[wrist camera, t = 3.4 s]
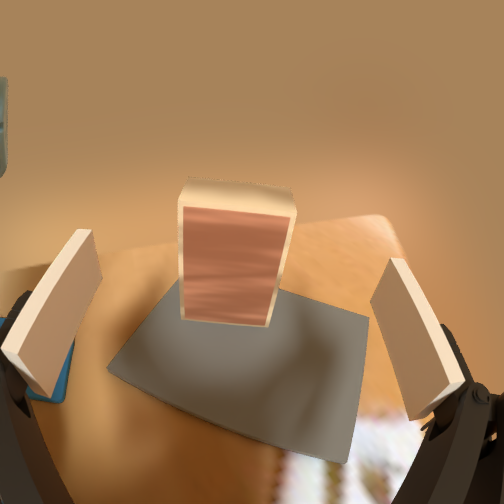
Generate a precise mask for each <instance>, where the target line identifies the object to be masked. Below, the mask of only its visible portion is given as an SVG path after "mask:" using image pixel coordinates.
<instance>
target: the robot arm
mask: <svg viewBox="0 0 504 504" xmlns="http://www.w3.org/2000/svg"><path fill="white" fill-rule="evenodd" d="M7 114H8V80H7V78H6V77H0V178H1V177H2V176H3V174H4V173H5V171H6V168H7V158H8V156H7V155H8V154H7V153H8V152H7V151H8V148H7V118H8V115H7ZM101 280H102V274H101V270H100V266H99V261H98V257H97V252H96V248H95V242H94V237H93V233H92V230H88V229H77V230H76V231H75V233H74V234H73V235H72V237H71V238H70V239H69V240H68V242H67V243H66V245H65V246H64V247H63V249H62V250H61V251H60V253H59V254H58V255H57V257H56V258H55V260H54V261H53V263H52V264H51V265H50V267H49V268H48V270H47V271H46V273H45V274H44V276H43V277H42V279H41V280H40V282H39V283H38V285H37V286H36V288H35V289H34V291H28V290H27V291H26V292H25V293H24V294H23V295H21V296H20V297H19V298H18V299H17V301H16V303H15V304H14V306H13V307H12V311H10V312H9V314H8V316H7V319H5V321H4V322H3V324H2V326H1V328H0V495H1V498H2V500H3V503H4V504H74V502H73V500H72V499H71V497H70V495H69V493H68V491H67V489H66V487H65V485H64V484H63V482H62V480H61V478H60V476H59V473H58V471H57V469H56V467H55V465H54V463H53V461H52V458H51V456H50V454H49V451H48V449H47V447H46V444H45V442H44V439H43V437H42V434H41V432H40V429H39V426H38V424H37V421H36V418H35V415H34V412H33V409H32V406H31V403H30V400H29V397H28V395H27V393H26V389H27V386H29V387H30V388H31V389H32V390H33V392H34V393H36V394H39V395H42V396H45V397H48V398H51V396H52V393H53V391H54V388H55V385H56V382H57V380H58V377H59V374H60V372H61V369H62V367H63V364H64V362H65V359H66V357H67V354H68V352H69V349H70V347H71V345H72V342H73V340H74V338H75V335H76V333H77V331H78V329H79V326H80V324H81V322H82V320H83V318H84V315H85V313H86V311H87V309H88V307H89V305H90V303H91V301H92V299H93V296H94V294H95V292H96V290H97V288H98V286H99V284H100V282H101ZM370 303H371V306H372V308H373V311H374V314H375V316H376V319H377V322H378V325H379V327H380V330H381V333H382V336H383V339H384V341H385V344H386V347H387V350H388V353H389V356H390V359H391V362H392V365H393V368H394V371H395V374H396V378H397V381H398V384H399V387H400V391H401V394H402V397H403V401H404V404H405V408H406V411H407V415H408V418H409V421H413V420H418V419H423V418H425V417H426V416H428V415H429V414H430V413H431V412H432V411H433V412H434V416H435V417H434V418H432V419H431V420H430V421H429V422H428V423H426V424H425V425H424V426H423V427H422V428H421V431H423V430H424V429H426V428H427V427H428V426H429V427H428V429H427V431H426V432H425V433H426V434H425V437H424V439H423V441H422V444H421V446H420V448H419V450H418V453H417V455H416V457H415V459H414V461H413V463H412V466H411V468H410V470H409V472H408V474H407V476H406V478H405V480H404V481H403V483H402V485H401V487H400V489H399V491H398V493H397V494H396V496H395V498H394V500H393V501H392V503H391V504H504V393H502V394H501V395H496V394H490V393H489V391H488V389H487V388H486V387H485V386H484V385H483V384H481V383H478V382H477V383H475V382H474V380H473V378H472V376H471V373H470V371H469V369H468V367H467V364H466V362H465V360H464V358H463V356H462V353H460V349H459V347H458V345H456V341H455V339H454V337H453V335H452V333H451V332H450V331H449V330H448V328H447V327H446V326H445V325H444V324H439V322H438V320H437V318H436V316H435V314H434V312H433V310H432V308H431V306H430V305H429V303H428V301H427V299H426V297H425V295H424V293H423V292H422V290H421V288H420V286H419V284H418V283H417V281H416V279H415V277H414V276H413V274H412V272H411V270H410V269H409V267H408V265H407V264H406V262H405V260H404V259H398V258H390V259H389V262H388V264H387V266H386V268H385V271H384V273H383V275H382V277H381V279H380V281H379V284H378V286H377V288H376V290H375V292H374V294H373V296H372V298H371V300H370ZM496 432H497V438H496V439H495V440H493V441H492V437H491V436H492V435H493V434H494V433H496ZM1 498H0V504H2V502H1Z"/></svg>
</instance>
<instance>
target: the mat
mask: <svg viewBox="0 0 504 504" xmlns="http://www.w3.org/2000/svg"><path fill="white" fill-rule="evenodd" d="M368 327H369V317H366V316H363V315H360V314H357V313H353V312H350V311H347V310H344V309H341V308H337V307H334V306H331V305H328V304H325V303H322V302H318V301H315V300H312V299H309V298H306V297H303V296H300V295H297V294H294V293H291V292H288V291H285V290H281V289H278V293H277V297H276V300H275V304H274V308H273V312H272V316H271V320H270V323H269V327H268V328H267V327H253V326H241V325H229V324H218V323H208V322H199V321H190V320H181V313H180V292H179V279H178V280H177V281H176V282H175V283H174V285H173V286H172V287H171V288H170V289H169V291H168V292H167V293H166V294H165V295H164V297H163V298H162V299H161V300H160V301H159V303H158V304H157V305H156V306H155V307H154V309H153V310H152V311H151V312H150V314H149V315H148V316H147V317H146V318H145V320H144V321H143V322H142V323H141V325H140V326H139V327H138V328H137V330H136V331H135V332H134V333H133V335H132V336H131V337H130V338H129V340H128V341H127V342H126V343H125V345H124V346H123V347H122V348H121V350H120V351H119V352H118V353H117V355H116V356H115V357H114V359H113V360H112V361H111V362H110V364H109V365H108V366H107V367H106V368H107V370H108V371H109V372H110V373H112V374H114V375H115V376H117V377H119V378H120V379H122V380H124V381H126V382H127V383H129V384H131V385H133V386H135V387H137V388H138V389H140V390H142V391H144V392H146V393H148V394H150V395H152V396H154V397H155V398H157V399H159V400H161V401H163V402H165V403H168V404H170V405H172V406H174V407H176V408H178V409H180V410H182V411H184V412H187V413H189V414H191V415H193V416H196V417H198V418H200V419H203V420H205V421H207V422H210V423H212V424H214V425H217V426H219V427H222V428H225V429H227V430H230V431H232V432H235V433H238V434H240V435H243V436H246V437H249V438H252V439H254V440H257V441H260V442H263V443H266V444H269V445H273V446H276V447H279V448H282V449H286V450H289V451H293V452H296V453H300V454H303V455H307V456H311V457H315V458H319V459H323V460H327V461H332V462H336V463H341V464H345V463H346V462H347V460H348V456H349V451H350V447H351V442H352V437H353V432H354V427H355V422H356V416H357V411H358V405H359V399H360V393H361V386H362V379H363V372H364V364H365V356H366V347H367V337H368Z"/></svg>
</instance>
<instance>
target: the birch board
mask: <svg viewBox="0 0 504 504" xmlns="http://www.w3.org/2000/svg"><path fill="white" fill-rule="evenodd" d="M296 215H297V211H296V207H295V203H294V200H293V195H292V192H291V188H288V187H281V186H272V185H264V184H256V183H247V182H238V181H228V180H219V179H208V178H196V177H188V179H187V181H186V183H185V186H184V188H183V190H182V192H181V194H180V197H179V199H178V264H179V292H180V313H181V320H190V321H199V322H208V323H218V324H229V325H241V326H253V327H267V328H268V327H269V323H270V320H271V316H272V312H273V308H274V304H275V300H276V297H277V293H278V289H279V285H280V281H281V277H282V273H283V269H284V265H285V261H286V257H287V253H288V249H289V245H290V241H291V236H292V232H293V228H294V224H295V220H296Z"/></svg>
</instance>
